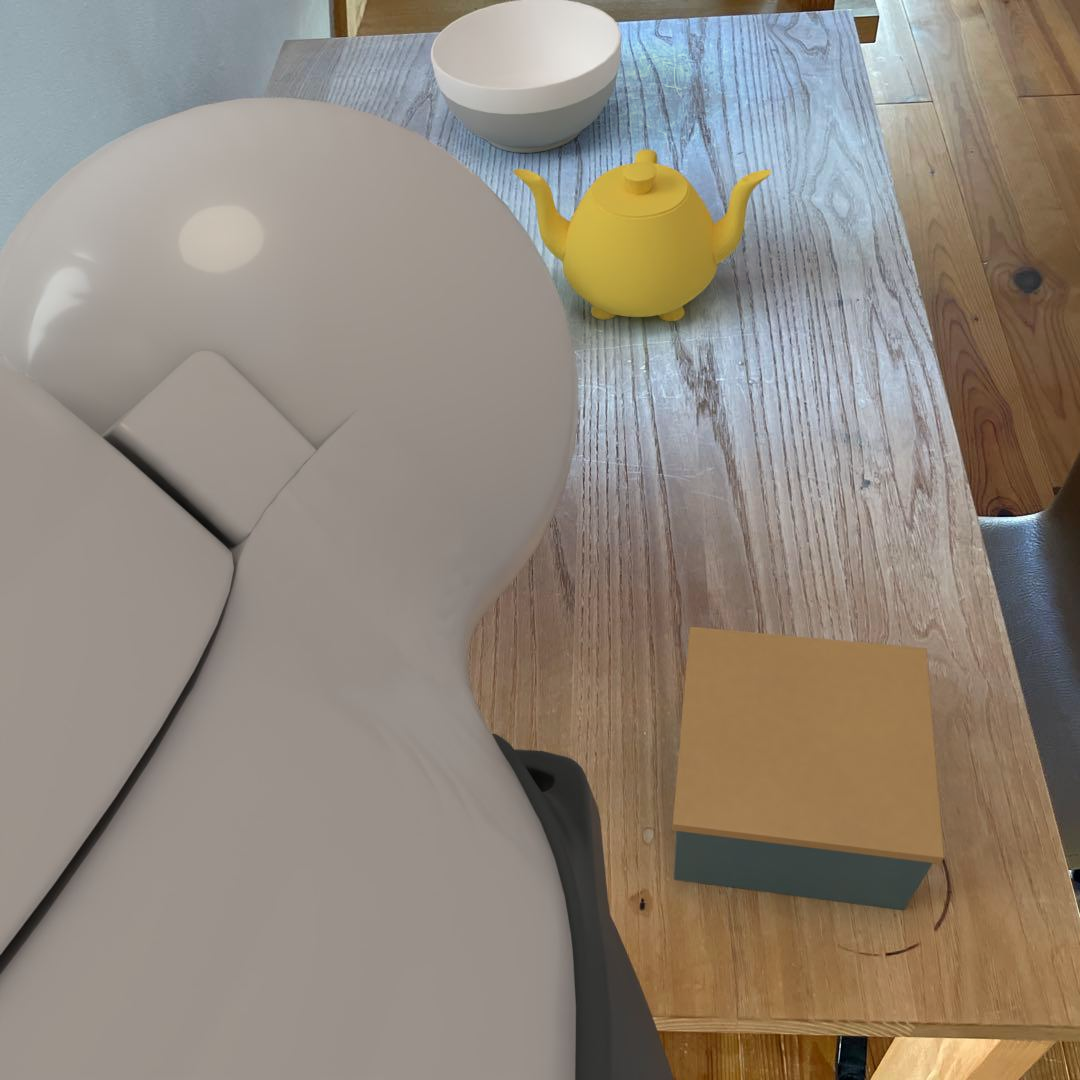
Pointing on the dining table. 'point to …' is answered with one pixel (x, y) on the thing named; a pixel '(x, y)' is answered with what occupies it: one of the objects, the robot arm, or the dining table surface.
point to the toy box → (806, 768)
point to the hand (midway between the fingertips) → (206, 406)
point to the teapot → (640, 237)
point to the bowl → (528, 71)
